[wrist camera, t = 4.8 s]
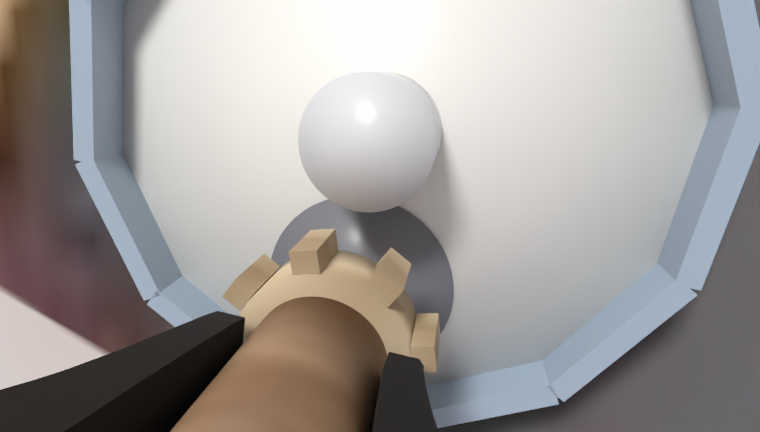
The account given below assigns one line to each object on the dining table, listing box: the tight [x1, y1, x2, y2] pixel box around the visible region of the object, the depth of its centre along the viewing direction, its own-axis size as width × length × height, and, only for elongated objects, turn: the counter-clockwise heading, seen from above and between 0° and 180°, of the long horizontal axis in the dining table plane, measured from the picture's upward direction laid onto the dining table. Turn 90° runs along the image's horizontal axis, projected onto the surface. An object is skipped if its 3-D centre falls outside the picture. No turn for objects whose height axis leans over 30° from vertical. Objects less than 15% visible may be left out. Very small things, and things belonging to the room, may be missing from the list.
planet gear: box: [170, 229, 440, 432], centre depth 9 cm, size 5×5×6 cm
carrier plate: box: [69, 0, 760, 428], centre depth 12 cm, size 17×17×4 cm
